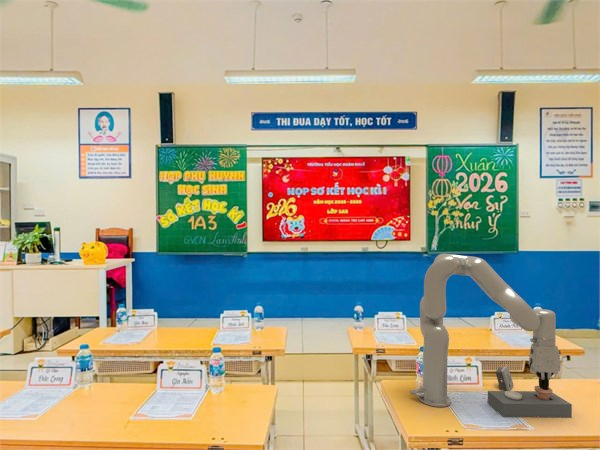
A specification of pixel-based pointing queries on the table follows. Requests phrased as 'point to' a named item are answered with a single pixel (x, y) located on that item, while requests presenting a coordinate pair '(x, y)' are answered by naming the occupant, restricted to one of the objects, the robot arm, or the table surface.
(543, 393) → the terracotta button
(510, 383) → the electrical switch
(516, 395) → the grey button
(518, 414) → the button box
